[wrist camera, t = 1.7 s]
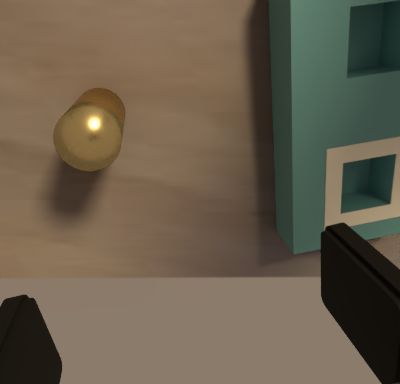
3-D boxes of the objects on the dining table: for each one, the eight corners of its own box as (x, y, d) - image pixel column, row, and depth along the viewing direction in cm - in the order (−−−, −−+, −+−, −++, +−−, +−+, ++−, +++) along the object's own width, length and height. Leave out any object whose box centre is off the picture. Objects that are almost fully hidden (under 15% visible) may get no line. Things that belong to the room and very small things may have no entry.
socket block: (267, -32, 28) (290, -45, 23) (431, -52, 29) (480, -66, 25) (276, 231, 38) (293, 255, 33) (398, 207, 39) (429, 227, 35)
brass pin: (70, 91, 29) (44, 113, 21) (119, 84, 29) (113, 102, 21) (83, 139, 30) (63, 176, 22) (129, 131, 31) (127, 165, 23)
